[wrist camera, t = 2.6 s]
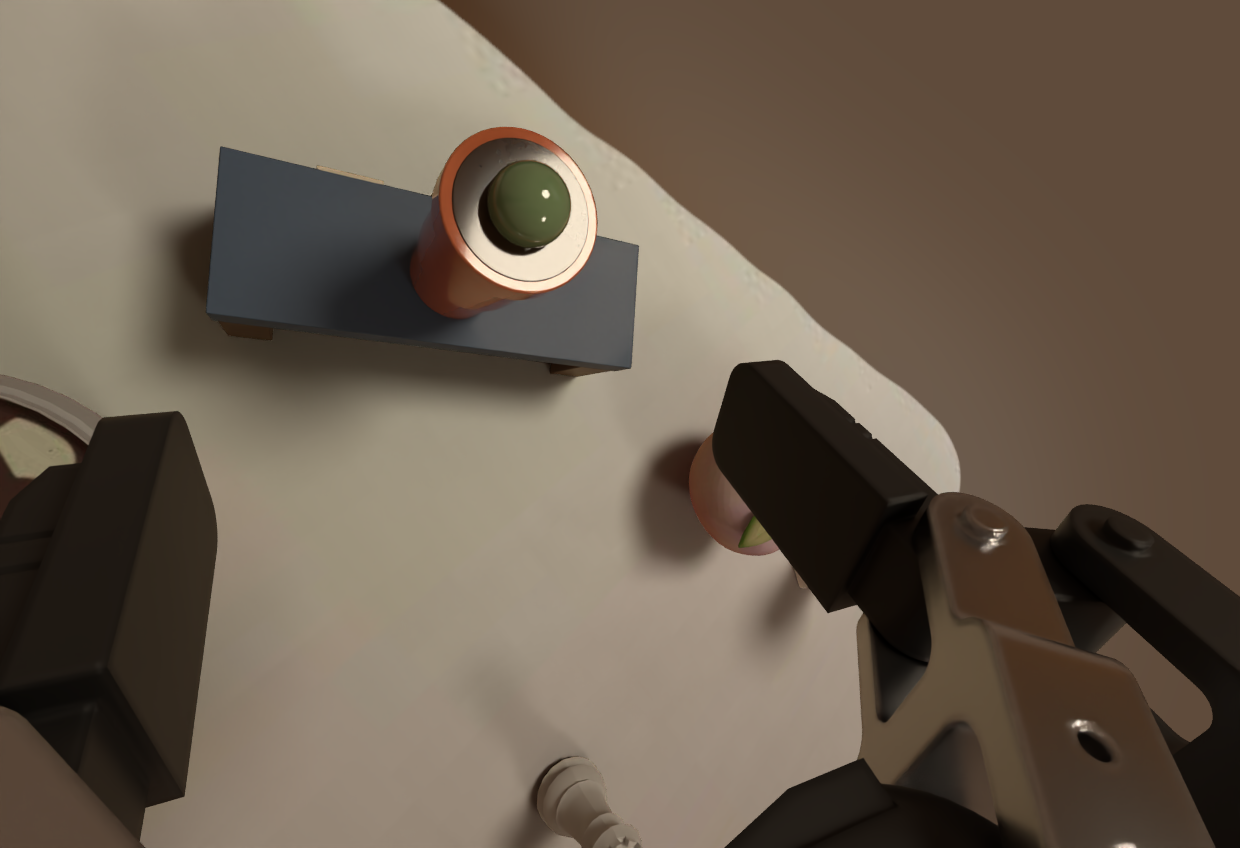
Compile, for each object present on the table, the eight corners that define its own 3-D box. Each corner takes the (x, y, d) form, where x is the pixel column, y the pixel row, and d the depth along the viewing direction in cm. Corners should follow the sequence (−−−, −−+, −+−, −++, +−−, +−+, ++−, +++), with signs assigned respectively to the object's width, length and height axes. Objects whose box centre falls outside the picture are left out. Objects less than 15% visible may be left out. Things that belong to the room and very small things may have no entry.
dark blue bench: (223, 335, 32) (205, 313, 25) (235, 196, 32) (220, 140, 26) (580, 377, 41) (631, 368, 35) (587, 269, 41) (639, 241, 35)
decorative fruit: (700, 392, 45) (798, 384, 36) (770, 455, 48) (876, 462, 39) (634, 500, 43) (723, 519, 34) (713, 560, 46) (813, 592, 37)
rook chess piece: (529, 769, 39) (580, 845, 32) (592, 742, 41) (654, 807, 34) (539, 836, 39) (592, 926, 32) (601, 805, 41) (664, 883, 34)
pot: (381, 310, 28) (431, 241, 18) (412, 195, 29) (479, 63, 18) (498, 347, 31) (603, 306, 20) (524, 241, 32) (639, 148, 21)
